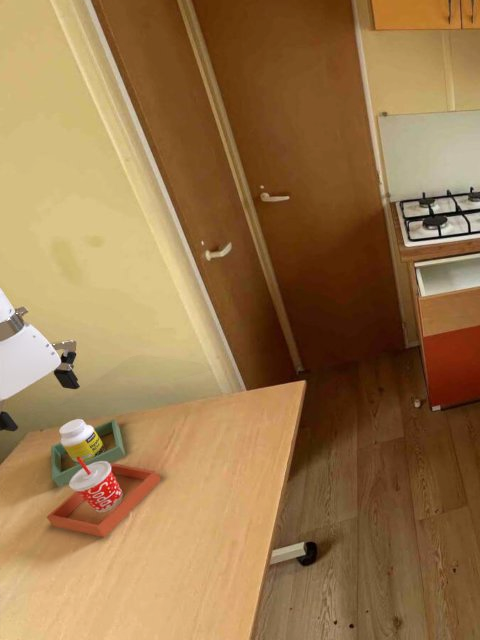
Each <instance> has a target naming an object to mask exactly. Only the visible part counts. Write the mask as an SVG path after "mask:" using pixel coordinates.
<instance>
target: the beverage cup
mask: <svg viewBox="0 0 480 640" xmlns="http://www.w3.org/2000/svg"><path fill="white" fill-rule="evenodd" d="M76 459H77V460H78V462H79V463H80V464H81V466H82V467H83V468H82V469H81V470H79V471H78V472H77V473H76V474H75V475H74V476H73V477H72V479H71V480H70V482H68V483H69V484H68V485H69V488H70V489H71V490H73V491H74V492H76V491H77V492H78V493H79V494H80V495H81V496H82V497H83V498H84V499H85V500H84V501H85V502H86V503H87V504H88V505H89V506H90V507H91V508H92V509H93V511H95V512H96V513H100V514H103V513H105V512H106V513H107V512H109V511H111V510H112V509H115V508H116V507H117V506H118V505H119V504H120V503H121V502H122V501H123V499H124V491H123V489H122V488H121V485H120V484H119V482H118V480H117V478H116V476H115V474H113V473H112V471H111V466H110V464H109V463H108V462H107V461H99V462H94V463H92V464H90V465H87V466H86V465H85V464H84V462H83V461H82V460H81V458H80V457H77V458H76Z"/></svg>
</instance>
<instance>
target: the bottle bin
mask: <svg viewBox="0 0 480 640" xmlns="http://www.w3.org/2000/svg"><path fill="white" fill-rule="evenodd" d="M93 428H94V430H95V431H96V433H97V435H98V436H99V438H102V437H104V436H106V435H108V434H110V433H113V436H114V443H115V447H112V448H110V449H108V450H105V451H104V453H102V454H100V455H98V456H95V457H93V458H91V459H89V460H87V461H85V462H84V464H85V465H86V466H87V465H90V464H92V463H94V462H99V461H107V462H108V463H113V462H114V461H115V460H118V459H120V458H122V457H124V456H125V455H126V454H125V448H124V443H123V439H122V434H121V429H120V425H119V424H118V422H117V421H116V419H115V418H113V419H111V420H109V421H106V422H104V423H102V424H100V425H97V426H95V427H93ZM66 453H67V451H66V450H65V448H64V447H63V445H62V444H61V441H60V442H58V443H56V444H53V445H51V446H50V457H51V459H50V460H51V461H50V462H51V479H52V481H53V482H54V484H55V485H56V486H57V487H58V488H60V487H62V486H64V485H67V484H68V483H70V480H71V479H72V477H73V476H74V475H75V474H76V473H77V472H78V471H79V470H81V469H82V468H83V467H82V466H81V464H78V465H77V464H75V465H74V466H72V467H70V468H67V469H66V470H63V471H62V456H63V455H64V454H66Z"/></svg>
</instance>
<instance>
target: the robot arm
mask: <svg viewBox="0 0 480 640" xmlns="http://www.w3.org/2000/svg"><path fill="white" fill-rule="evenodd" d="M28 313H29V310H28V309H27V308H26V307H25V306H20V307H18V308H15V307H14V306H13V305H12V303H11V302H10V300H9V299H8V297H7V295H6V294H5V292H4V291H3V290H2V288H1V287H0V432H2V431H7V432H17V430H19V426H18V425H17V423H16V422H15V420H14V419H13V418H12V417H11V415H10V414H9V412H6V411H3V407H4V405H5V403H6V400H8V399H9V398H11V397H13V396H14V395H17V394H18V393H19V392H21V391H23V390H24V389H26V388H29V386H31V385H33V384H34V383H36V382H38V381H39V380H41V379H43V378H44V377H46V376H47V375H49V374H51V373H53V375H54V377H55V378H56V380H57V381H58V382H59V384H60V386H61V387H62V388H64V389H70V390H78V389H80V388H81V386H80V384H79V379H78V377H77V375H76V374H75V372H74V371H73V369H74V368H75V364H74V362H75V360H76V357H77V352H76V351H77V341H76V340H72V339H67V340H61V341H54V342H50V341H48V339H47V338H46V337H45V336H44V335H43V334H42V333H41V331H39V330H38V329H37V328H36V327H34V325H32V324H31V323H30V322H28V321H25V320H24V318H23V317H24V316H25V315H26V314H28ZM59 350H62V354H61V355H59V354H58V352H57V351H59Z"/></svg>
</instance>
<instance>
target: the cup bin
mask: <svg viewBox="0 0 480 640" xmlns="http://www.w3.org/2000/svg"><path fill="white" fill-rule="evenodd" d="M109 464H110V466H111V471H112V473H113V475H120V476H124V477H130V478H135V479H140V480H143V481H142V482H140V484H139V485H137V486H136V488H134V489H133V491H132V492H130V493H129V494H128V495H127V496H126V497H125V498H123V499H122V500H121V502H120V503H119V504H118V505H117V506H115V507H114V508H113V510H112V511H111V512H110V513H109V514H108V515H107V516H106V517H105V518H103V520H102V521H101V522H100V523H99V524H96V523H91V522H87V521H84V520H83V521H81V520H78V519H73V518H68V516H70V514H72V513H73V511H74V510H76V509H77V508H78V507H80V505H81V504H82V503H84V501H86V500H85V499H84V498H83V497H82V496H81V495H80V494H79V493H78V492H77V491H74V492H72V494H71V495H70V496H69V497H67V498H66V499H65V500H64V501H63V502H61V504H59V505H58V506H57V507H56V508H55V509H54V510H52V511H51V512H50V513H49V514H48V515H47V516H46V519H47V520H48V521H49V522H50V524H51V525H52V526H53V527H56V528H61V529H65V530H70V531H74V532H80V533H84V534H89V535H94V536H97V537H102V538H105V537H106V536H107V535H108V534H109V533H110V532H111V531H112V530H113V529H114V528H115V527H116V526H117V525H118V524H119V523H120V522H121V521H122V520H123V519H124V518H125V517H126V516H127V515H128V514H129V513H130V512H131V511H132V510H133V509H134V508H135V506H137V505H138V504H139V503H140V502H141V501H142V500H143V499H144V498H145V497H146V496H147V495H148V493H150V492H151V491H152V489H153V488H154V487H155V486H157V484H159V482H161V477H160V476H159V474H158V473H157V471H156V470H150V469H147V468H141V467H135V466H130V465H124V464H119V463H114V462H110V463H109Z"/></svg>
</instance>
